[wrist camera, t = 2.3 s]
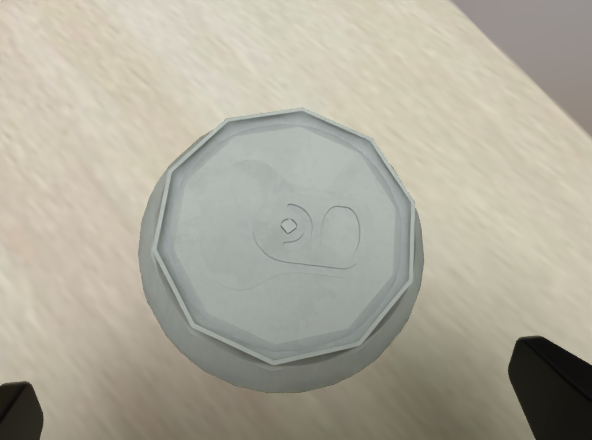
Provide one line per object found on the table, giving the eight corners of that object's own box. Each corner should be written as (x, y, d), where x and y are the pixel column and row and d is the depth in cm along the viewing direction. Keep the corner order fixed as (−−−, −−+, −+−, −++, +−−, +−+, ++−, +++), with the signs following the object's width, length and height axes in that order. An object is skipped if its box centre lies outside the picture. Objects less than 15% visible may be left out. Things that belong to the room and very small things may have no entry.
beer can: (216, 244, 19) (157, 64, 7) (331, 258, 19) (447, 105, 8) (197, 365, 17) (84, 379, 6) (321, 379, 18) (446, 417, 6)
